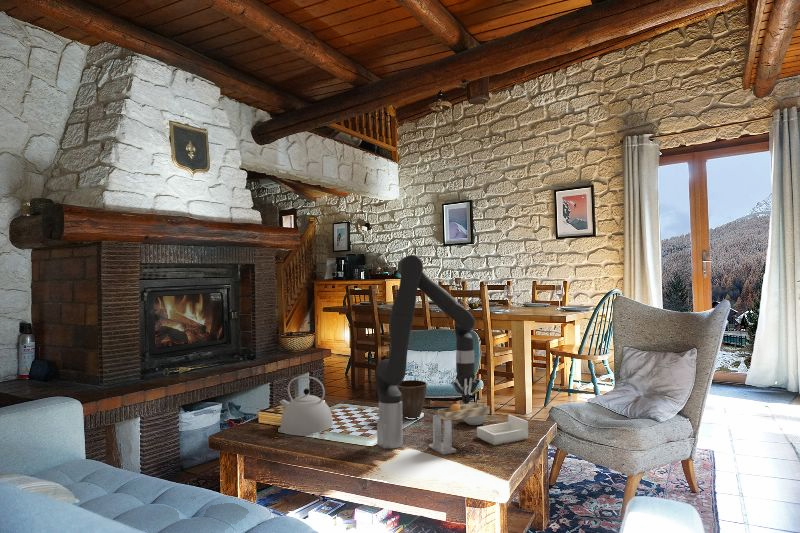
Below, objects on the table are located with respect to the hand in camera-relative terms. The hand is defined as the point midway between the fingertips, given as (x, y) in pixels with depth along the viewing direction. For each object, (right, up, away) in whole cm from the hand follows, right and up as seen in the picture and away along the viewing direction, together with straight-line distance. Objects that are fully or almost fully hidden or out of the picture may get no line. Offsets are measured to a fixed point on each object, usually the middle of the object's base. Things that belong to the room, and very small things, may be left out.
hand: (466, 403), depth 212 cm
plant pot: (-22, -15, +30) cm, 39 cm away
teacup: (+6, -14, +21) cm, 26 cm away
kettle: (-69, -15, +17) cm, 73 cm away
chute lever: (-4, -2, -6) cm, 7 cm away
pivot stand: (-11, -14, -14) cm, 23 cm away
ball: (-6, +1, -11) cm, 13 cm away
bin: (+15, -14, -1) cm, 20 cm away
